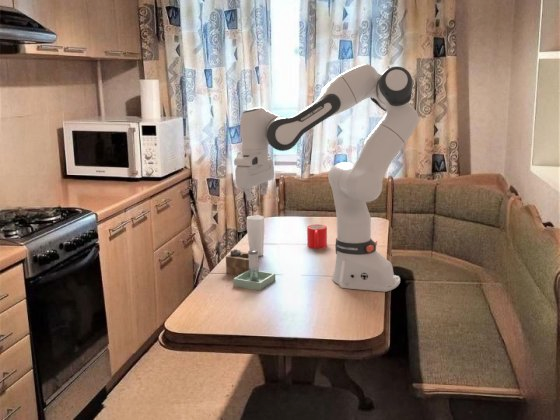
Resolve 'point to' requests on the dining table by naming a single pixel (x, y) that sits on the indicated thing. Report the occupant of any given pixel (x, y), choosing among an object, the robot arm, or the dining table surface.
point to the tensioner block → (237, 262)
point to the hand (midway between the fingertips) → (257, 197)
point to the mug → (317, 236)
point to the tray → (245, 282)
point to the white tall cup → (256, 233)
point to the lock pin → (253, 265)
